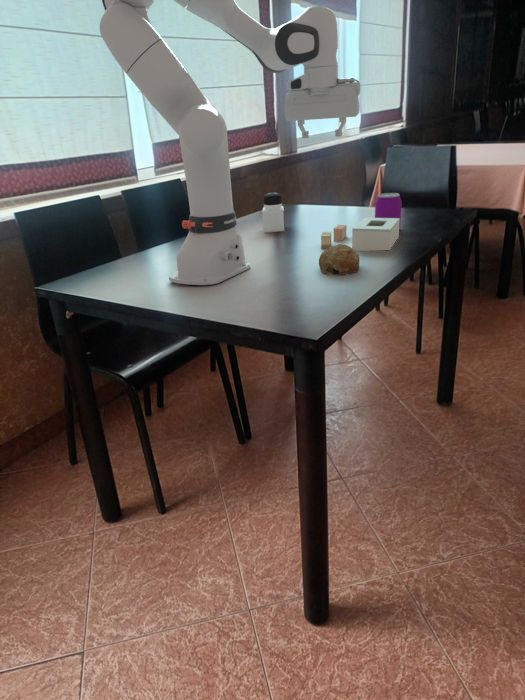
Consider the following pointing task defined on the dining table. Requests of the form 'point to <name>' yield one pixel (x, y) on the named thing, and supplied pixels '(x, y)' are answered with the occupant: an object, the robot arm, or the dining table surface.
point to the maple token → (326, 240)
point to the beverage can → (388, 206)
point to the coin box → (375, 234)
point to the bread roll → (339, 260)
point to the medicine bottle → (273, 213)
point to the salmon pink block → (339, 232)
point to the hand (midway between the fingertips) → (321, 137)
